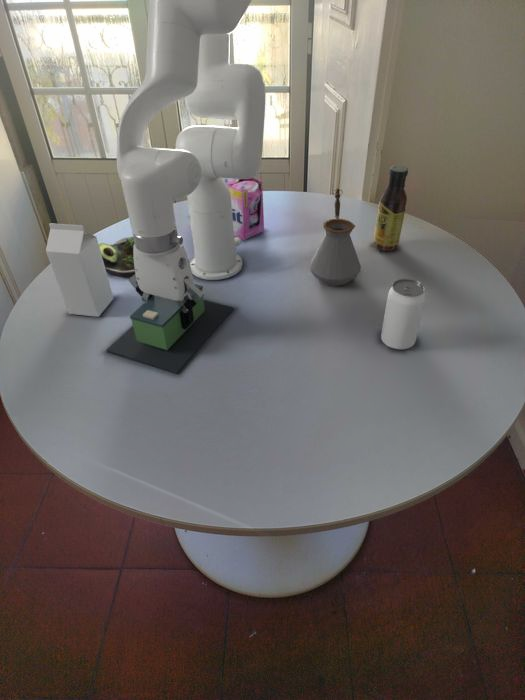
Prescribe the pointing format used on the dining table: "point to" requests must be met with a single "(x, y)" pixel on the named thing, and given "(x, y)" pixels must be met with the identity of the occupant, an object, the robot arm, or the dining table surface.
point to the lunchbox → (162, 321)
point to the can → (403, 314)
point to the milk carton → (79, 269)
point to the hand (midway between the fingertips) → (171, 320)
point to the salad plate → (119, 257)
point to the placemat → (180, 349)
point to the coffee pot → (336, 252)
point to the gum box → (246, 206)
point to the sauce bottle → (391, 210)
